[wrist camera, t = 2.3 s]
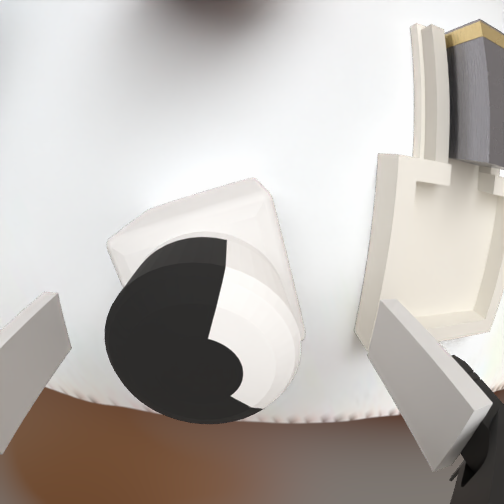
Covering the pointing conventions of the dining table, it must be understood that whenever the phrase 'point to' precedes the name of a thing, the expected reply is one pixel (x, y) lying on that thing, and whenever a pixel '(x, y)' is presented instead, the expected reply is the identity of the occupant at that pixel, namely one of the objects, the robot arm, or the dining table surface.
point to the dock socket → (434, 219)
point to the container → (205, 306)
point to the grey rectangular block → (476, 94)
